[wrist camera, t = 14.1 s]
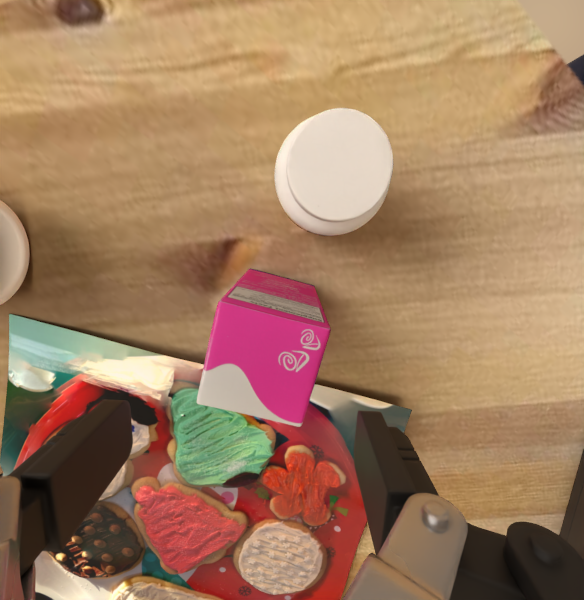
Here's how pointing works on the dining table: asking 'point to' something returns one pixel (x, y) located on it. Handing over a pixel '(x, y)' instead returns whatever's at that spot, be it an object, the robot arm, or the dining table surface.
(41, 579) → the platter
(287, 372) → the supplement box
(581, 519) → the bin
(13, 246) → the mug
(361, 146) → the pill bottle
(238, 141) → the dining table surface
